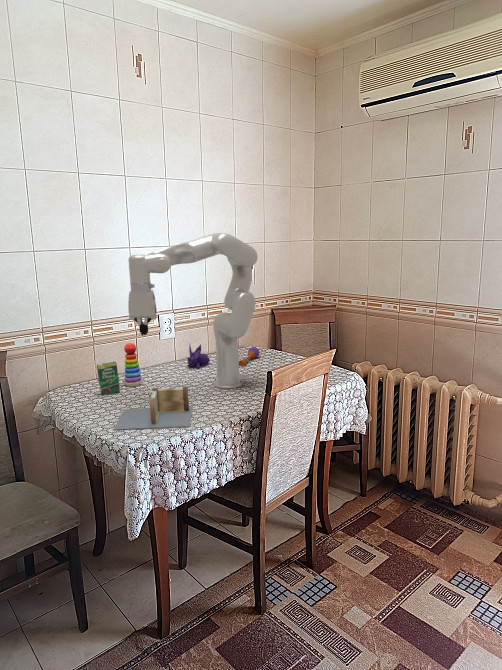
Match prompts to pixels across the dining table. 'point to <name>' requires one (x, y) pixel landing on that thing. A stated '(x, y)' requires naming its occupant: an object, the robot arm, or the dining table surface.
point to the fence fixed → (172, 399)
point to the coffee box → (108, 378)
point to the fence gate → (153, 407)
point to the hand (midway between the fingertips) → (144, 334)
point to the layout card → (142, 419)
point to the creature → (197, 358)
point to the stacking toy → (131, 366)
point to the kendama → (250, 355)
